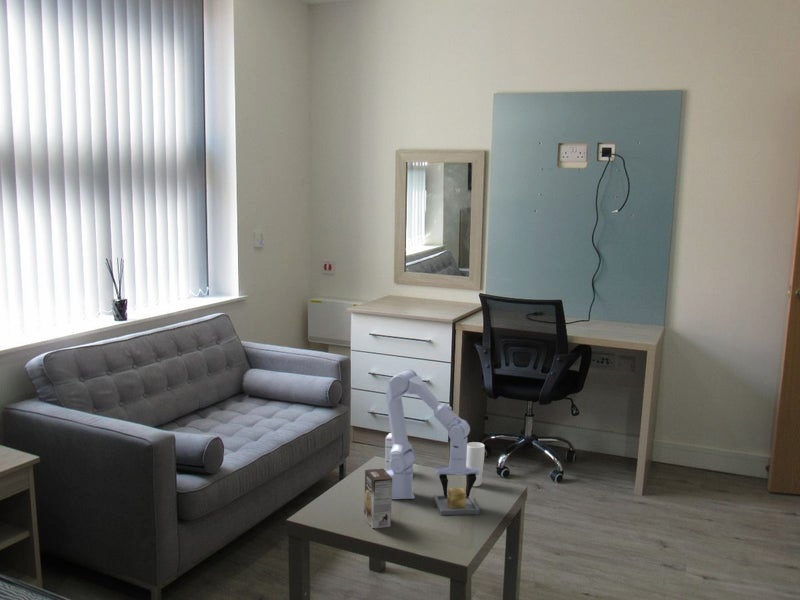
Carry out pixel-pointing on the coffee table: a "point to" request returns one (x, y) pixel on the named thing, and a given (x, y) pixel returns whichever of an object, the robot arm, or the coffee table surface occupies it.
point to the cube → (456, 497)
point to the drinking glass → (476, 459)
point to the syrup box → (388, 451)
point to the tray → (446, 510)
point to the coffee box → (378, 498)
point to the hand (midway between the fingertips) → (456, 495)
